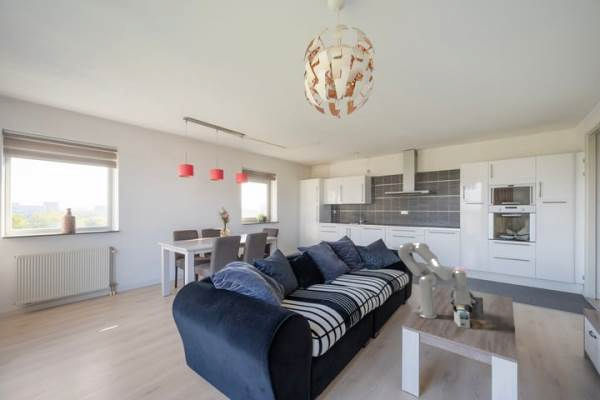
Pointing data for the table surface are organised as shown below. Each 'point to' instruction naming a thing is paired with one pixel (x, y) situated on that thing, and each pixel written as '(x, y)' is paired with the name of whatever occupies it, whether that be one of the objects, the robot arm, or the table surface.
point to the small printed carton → (477, 315)
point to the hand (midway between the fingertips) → (462, 311)
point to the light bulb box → (462, 318)
